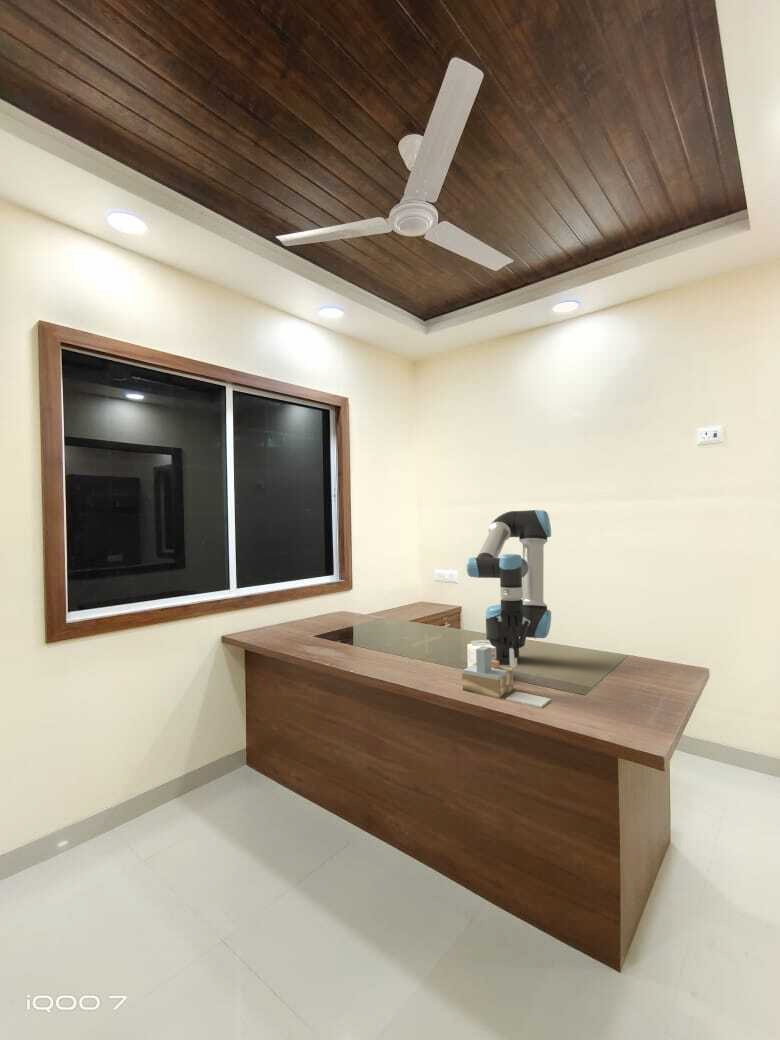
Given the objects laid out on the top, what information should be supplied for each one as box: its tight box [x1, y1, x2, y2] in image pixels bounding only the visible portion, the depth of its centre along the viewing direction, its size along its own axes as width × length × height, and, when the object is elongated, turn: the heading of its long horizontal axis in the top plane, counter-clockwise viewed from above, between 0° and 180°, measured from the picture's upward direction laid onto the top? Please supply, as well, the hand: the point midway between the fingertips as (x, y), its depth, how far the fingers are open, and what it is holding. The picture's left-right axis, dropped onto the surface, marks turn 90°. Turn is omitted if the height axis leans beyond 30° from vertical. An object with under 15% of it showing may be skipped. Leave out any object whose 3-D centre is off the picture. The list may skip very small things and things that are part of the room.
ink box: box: [466, 639, 496, 668], centre depth 184 cm, size 9×8×13 cm
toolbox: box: [461, 663, 514, 699], centre depth 168 cm, size 11×14×7 cm
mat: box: [505, 690, 551, 709], centre depth 157 cm, size 8×12×1 cm, turn 51°
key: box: [491, 660, 500, 668], centre depth 171 cm, size 2×5×2 cm, turn 51°
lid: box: [462, 646, 508, 680], centre depth 168 cm, size 9×13×10 cm
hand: (513, 666), depth 166 cm, fingers closed
